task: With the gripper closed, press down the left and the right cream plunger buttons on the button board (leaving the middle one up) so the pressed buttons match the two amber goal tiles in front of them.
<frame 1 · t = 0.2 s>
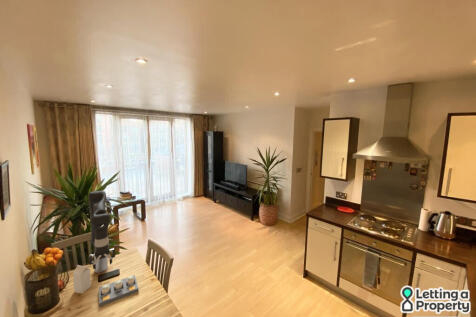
hand: (102, 266, 131), 29 cm above the table, fingers open, 8 cm apart
milk carton: (82, 289, 147), on the table
button B: (118, 284, 146), point 6 cm above the table, slide at 0.0 cm
button A: (105, 289, 141), point 6 cm above the table, slide at 0.0 cm
button board: (118, 291, 147), on the table
button C: (130, 280, 151), point 6 cm above the table, slide at 0.0 cm
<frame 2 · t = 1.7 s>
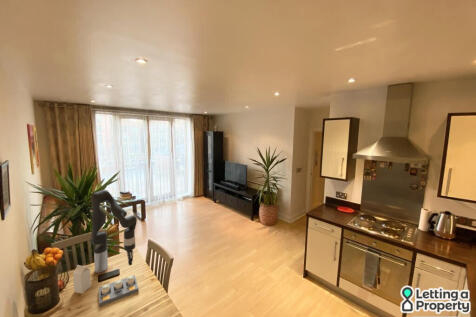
hand: (130, 263, 149), 19 cm above the table, fingers closed
nothing on the table moved.
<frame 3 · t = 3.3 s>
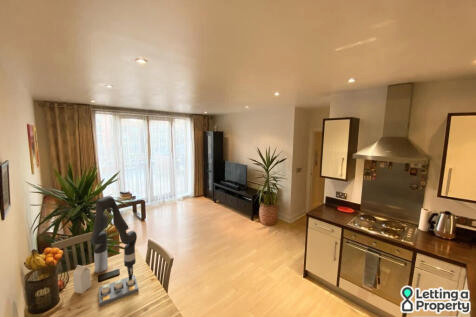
hand: (130, 279, 150), 7 cm above the table, fingers closed
button C: (130, 281, 151), point 4 cm above the table, slide at 1.0 cm, touching gripper
everything else where it was.
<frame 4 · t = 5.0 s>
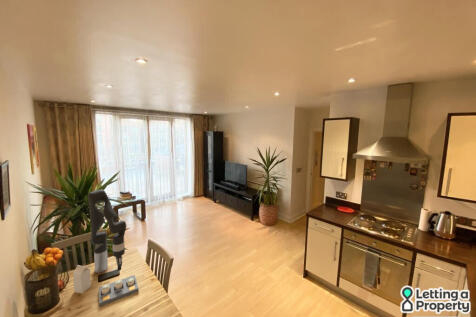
hand: (119, 269, 146), 17 cm above the table, fingers closed
button C: (130, 282, 151), point 4 cm above the table, slide at 2.0 cm
everything else where it was.
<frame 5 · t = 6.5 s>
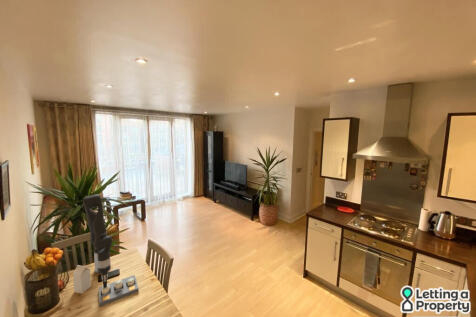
hand: (105, 287, 141), 7 cm above the table, fingers closed
button A: (105, 289, 141), point 5 cm above the table, slide at 0.1 cm, touching gripper
everything else where it was.
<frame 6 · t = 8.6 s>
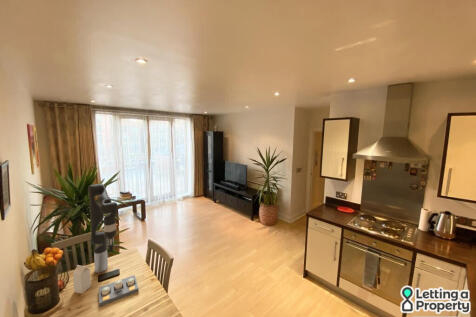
hand: (111, 250, 146), 30 cm above the table, fingers closed
button A: (105, 291, 141), point 4 cm above the table, slide at 2.0 cm
everything else where it was.
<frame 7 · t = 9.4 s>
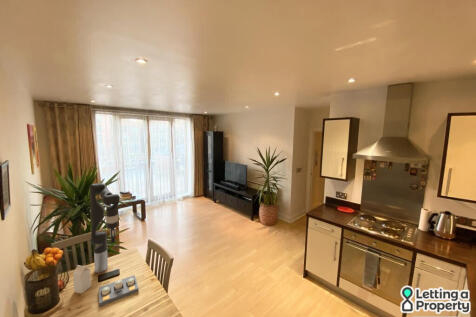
hand: (113, 242, 149), 35 cm above the table, fingers closed
nothing on the table moved.
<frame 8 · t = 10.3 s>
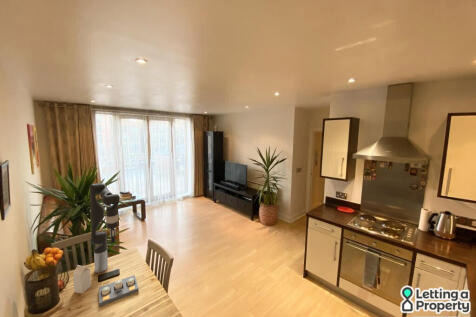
hand: (113, 242, 149), 35 cm above the table, fingers closed
nothing on the table moved.
at the end: button C slide at 2.0 cm; button A slide at 2.0 cm; button B slide at 0.0 cm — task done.
